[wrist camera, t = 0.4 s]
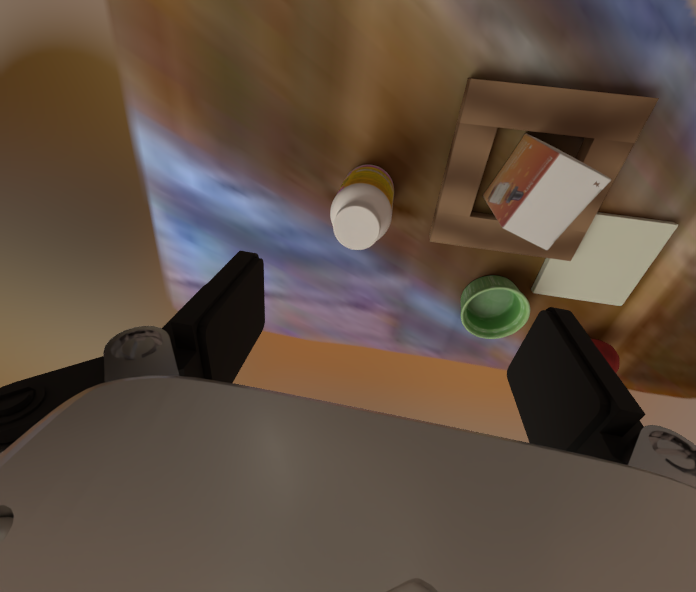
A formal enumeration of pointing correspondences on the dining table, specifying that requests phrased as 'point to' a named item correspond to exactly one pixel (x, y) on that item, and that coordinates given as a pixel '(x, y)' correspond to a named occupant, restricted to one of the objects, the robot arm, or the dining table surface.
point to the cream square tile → (606, 260)
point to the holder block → (539, 116)
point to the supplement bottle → (363, 207)
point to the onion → (608, 353)
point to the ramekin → (493, 307)
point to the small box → (541, 191)
